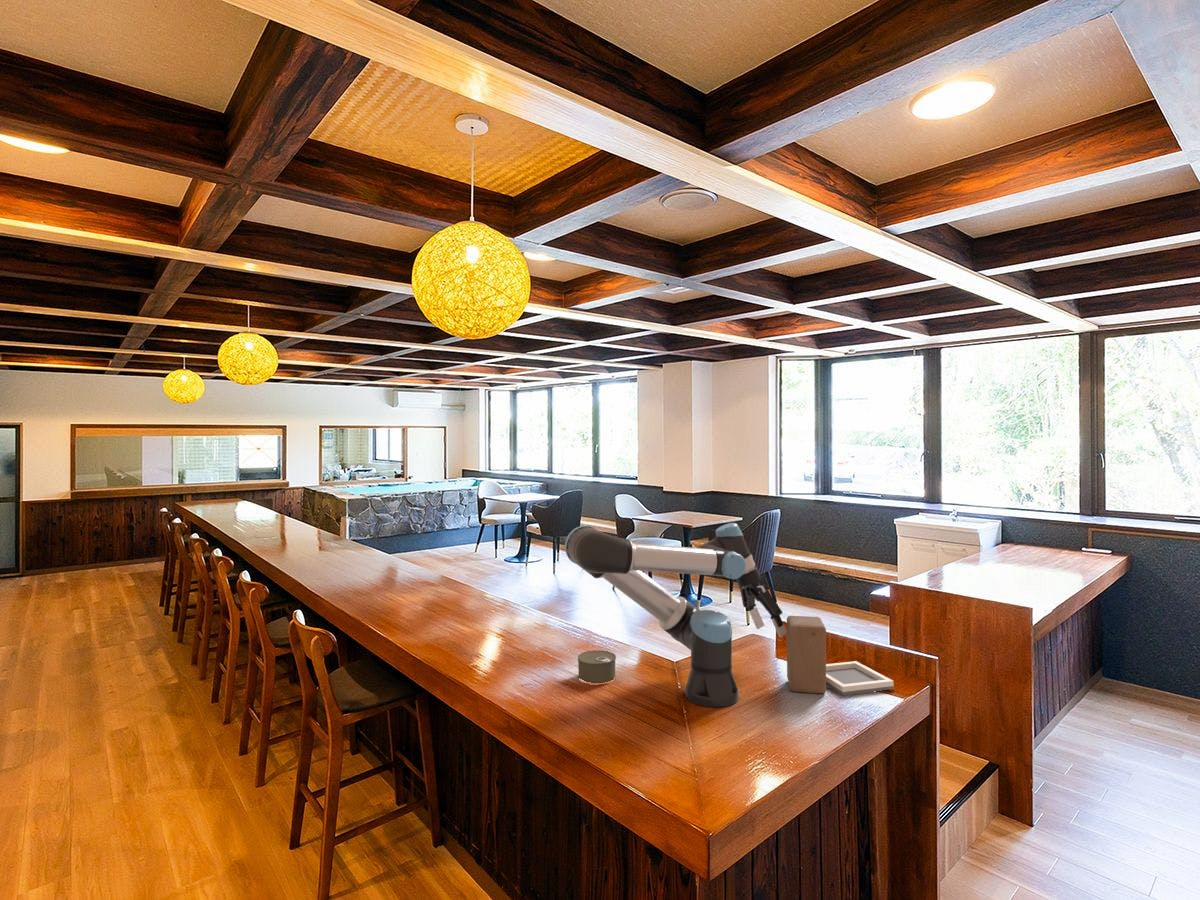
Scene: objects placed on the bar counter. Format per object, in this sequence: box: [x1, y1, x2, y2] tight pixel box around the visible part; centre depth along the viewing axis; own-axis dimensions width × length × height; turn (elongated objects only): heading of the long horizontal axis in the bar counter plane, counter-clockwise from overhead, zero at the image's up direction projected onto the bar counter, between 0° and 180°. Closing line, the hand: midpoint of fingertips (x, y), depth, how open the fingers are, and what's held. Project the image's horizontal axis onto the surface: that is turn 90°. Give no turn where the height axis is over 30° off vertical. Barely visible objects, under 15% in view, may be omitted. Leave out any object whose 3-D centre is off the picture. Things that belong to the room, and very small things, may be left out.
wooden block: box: [786, 615, 827, 694], centre depth 177 cm, size 10×10×20 cm
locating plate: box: [826, 660, 895, 697], centre depth 181 cm, size 17×17×3 cm
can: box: [577, 649, 617, 683], centre depth 187 cm, size 12×12×7 cm
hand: (771, 631), depth 189 cm, fingers open, 13 cm apart
